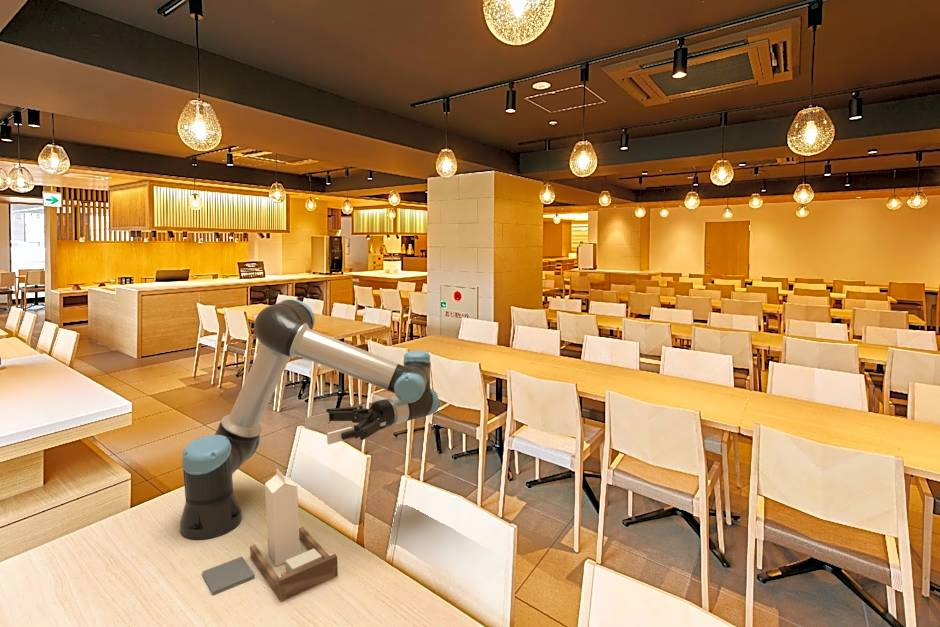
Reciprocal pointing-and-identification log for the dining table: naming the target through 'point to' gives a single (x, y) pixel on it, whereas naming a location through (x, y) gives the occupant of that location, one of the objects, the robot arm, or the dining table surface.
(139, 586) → the dining table surface
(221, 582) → the slate pad
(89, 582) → the dining table surface
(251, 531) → the dining table surface
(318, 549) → the rack
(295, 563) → the offcut top
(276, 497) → the milk
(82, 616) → the dining table surface
